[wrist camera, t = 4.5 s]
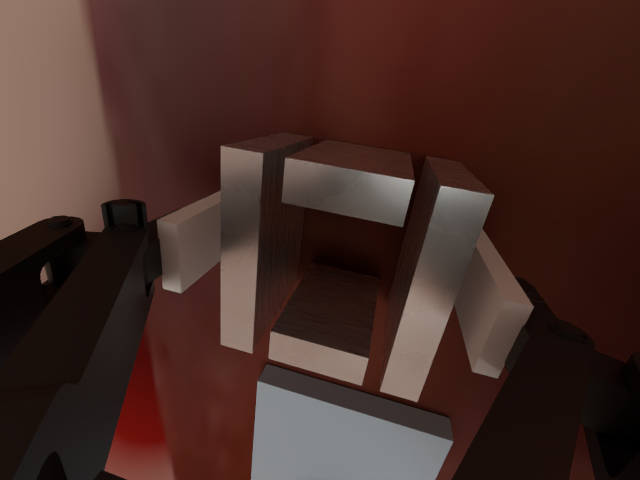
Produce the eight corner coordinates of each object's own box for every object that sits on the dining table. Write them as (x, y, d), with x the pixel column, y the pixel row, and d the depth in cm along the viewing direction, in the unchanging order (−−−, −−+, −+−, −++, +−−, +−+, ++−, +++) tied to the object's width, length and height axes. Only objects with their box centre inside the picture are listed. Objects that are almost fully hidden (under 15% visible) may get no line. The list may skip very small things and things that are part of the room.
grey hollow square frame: (458, 161, 14) (494, 195, 8) (412, 309, 17) (417, 402, 12) (285, 132, 15) (220, 145, 10) (274, 275, 18) (220, 344, 13)
